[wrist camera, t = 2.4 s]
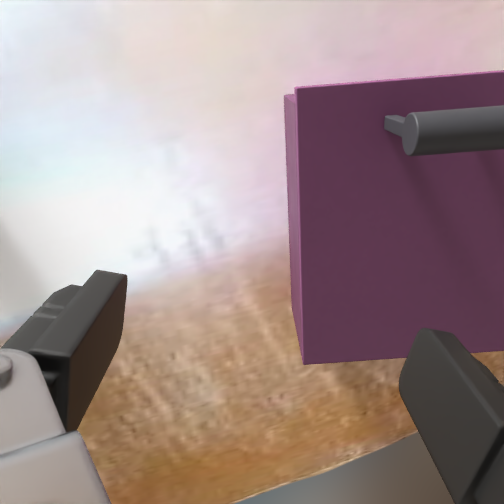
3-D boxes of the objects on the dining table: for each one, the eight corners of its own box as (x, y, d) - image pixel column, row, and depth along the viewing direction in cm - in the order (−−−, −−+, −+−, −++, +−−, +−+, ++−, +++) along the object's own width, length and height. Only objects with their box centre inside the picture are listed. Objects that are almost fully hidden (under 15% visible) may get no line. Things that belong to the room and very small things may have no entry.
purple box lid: (294, 86, 21) (310, 94, 16) (561, 65, 21) (665, 66, 16) (301, 357, 28) (314, 422, 23) (499, 343, 28) (556, 405, 23)
